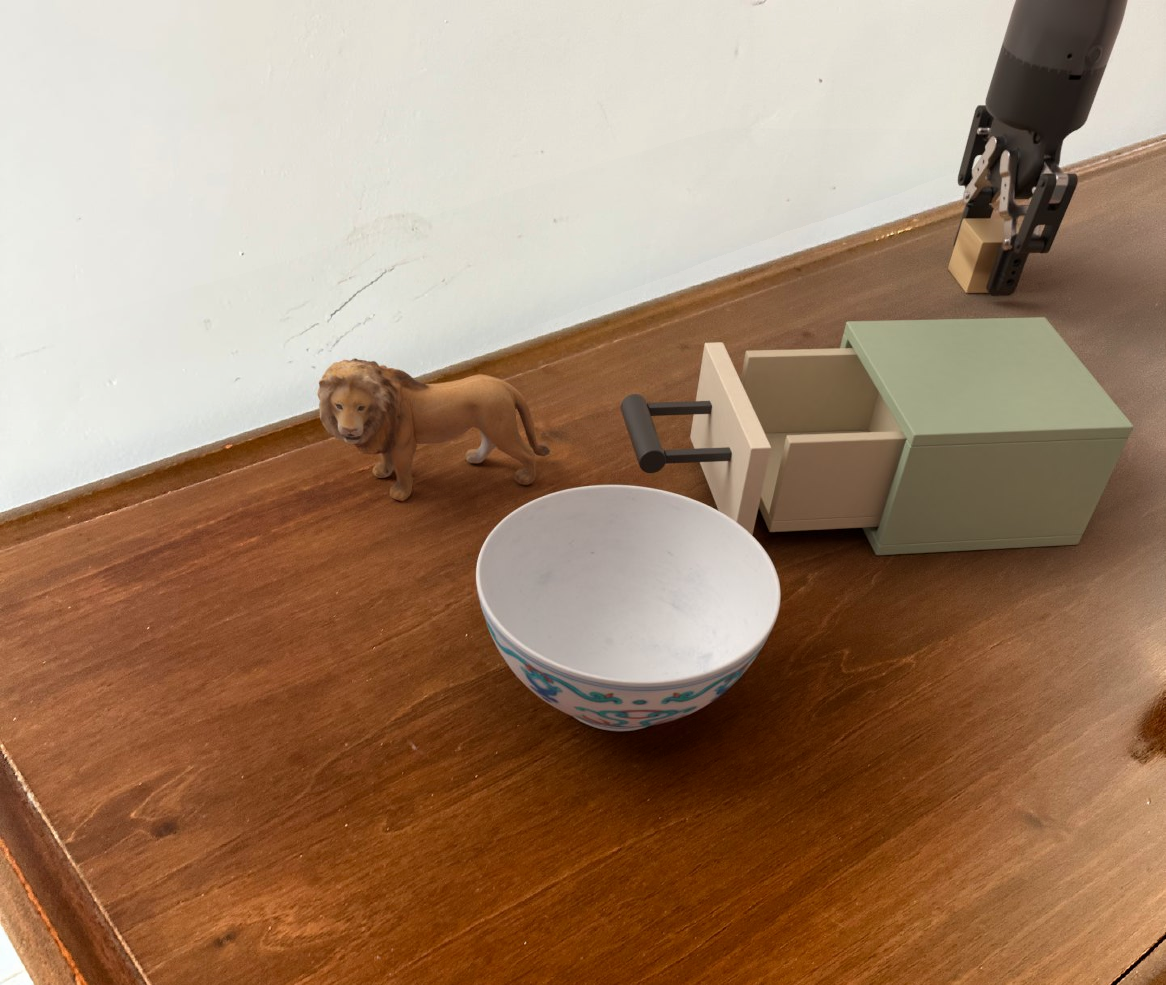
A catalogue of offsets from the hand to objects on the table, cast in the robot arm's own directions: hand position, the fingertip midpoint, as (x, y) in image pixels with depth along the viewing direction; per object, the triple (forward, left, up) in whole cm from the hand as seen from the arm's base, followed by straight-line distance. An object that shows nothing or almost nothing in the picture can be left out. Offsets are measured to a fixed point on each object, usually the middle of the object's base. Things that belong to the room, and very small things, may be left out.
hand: (982, 271), depth 98 cm
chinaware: (+39, +44, -1) cm, 59 cm away
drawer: (+26, +28, 0) cm, 38 cm away
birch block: (0, 0, -1) cm, 1 cm away
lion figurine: (+47, +25, -1) cm, 53 cm away
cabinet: (+14, +28, -1) cm, 31 cm away
